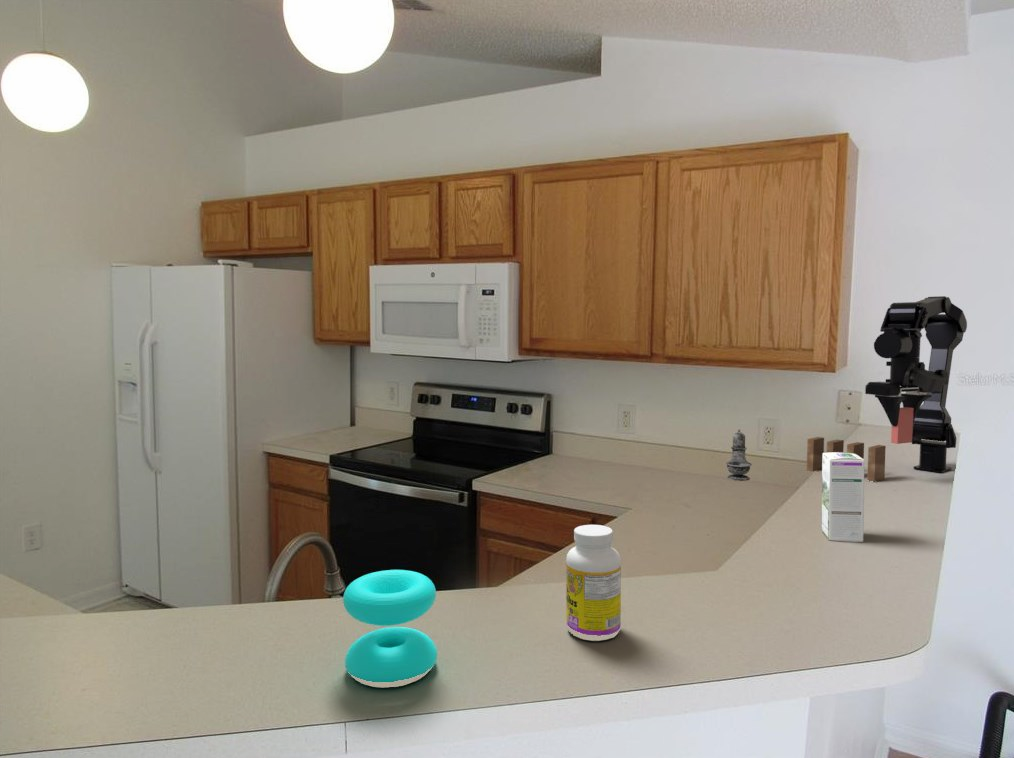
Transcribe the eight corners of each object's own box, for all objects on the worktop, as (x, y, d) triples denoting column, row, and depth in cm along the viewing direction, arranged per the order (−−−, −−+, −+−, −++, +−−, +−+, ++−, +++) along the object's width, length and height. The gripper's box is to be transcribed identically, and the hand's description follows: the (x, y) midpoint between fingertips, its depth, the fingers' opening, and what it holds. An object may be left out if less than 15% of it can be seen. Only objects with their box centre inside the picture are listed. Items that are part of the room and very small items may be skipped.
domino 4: (867, 481, 162) (868, 447, 162) (877, 478, 165) (878, 444, 165) (874, 482, 161) (875, 448, 160) (884, 479, 164) (885, 445, 163)
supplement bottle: (565, 619, 89) (564, 521, 88) (616, 620, 89) (617, 521, 88) (568, 644, 82) (567, 538, 81) (624, 644, 82) (624, 538, 81)
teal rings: (333, 601, 71) (352, 566, 81) (336, 695, 71) (354, 649, 81) (432, 599, 71) (438, 565, 81) (434, 692, 72) (440, 647, 82)
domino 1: (806, 470, 174) (807, 439, 174) (817, 467, 177) (818, 436, 177) (812, 471, 173) (813, 439, 172) (823, 468, 176) (824, 437, 175)
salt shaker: (747, 475, 169) (748, 427, 168) (754, 481, 163) (754, 430, 162) (723, 475, 170) (723, 427, 169) (728, 480, 164) (729, 430, 163)
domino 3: (846, 477, 166) (847, 444, 166) (856, 474, 169) (857, 442, 169) (852, 478, 165) (853, 445, 164) (863, 475, 168) (864, 442, 167)
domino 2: (825, 473, 170) (826, 441, 170) (836, 471, 173) (837, 439, 173) (832, 474, 169) (833, 442, 168) (842, 472, 172) (843, 440, 171)
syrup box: (864, 542, 118) (867, 458, 117) (827, 540, 119) (829, 457, 118) (854, 532, 124) (857, 452, 122) (819, 531, 125) (821, 451, 123)
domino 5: (890, 442, 159) (892, 408, 159) (905, 441, 161) (907, 407, 161) (897, 443, 158) (898, 408, 157) (912, 442, 160) (913, 407, 159)
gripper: (911, 359, 147) (908, 432, 148) (966, 358, 155) (963, 427, 156) (864, 357, 157) (862, 425, 158) (919, 356, 165) (916, 421, 166)
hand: (902, 425), depth 159 cm, fingers closed on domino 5, 5 cm apart
